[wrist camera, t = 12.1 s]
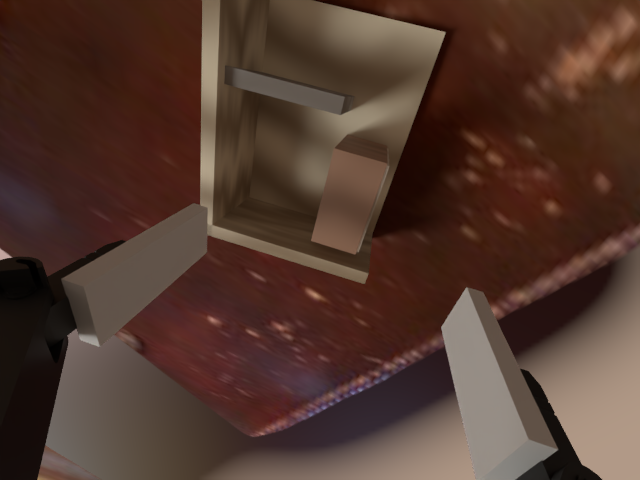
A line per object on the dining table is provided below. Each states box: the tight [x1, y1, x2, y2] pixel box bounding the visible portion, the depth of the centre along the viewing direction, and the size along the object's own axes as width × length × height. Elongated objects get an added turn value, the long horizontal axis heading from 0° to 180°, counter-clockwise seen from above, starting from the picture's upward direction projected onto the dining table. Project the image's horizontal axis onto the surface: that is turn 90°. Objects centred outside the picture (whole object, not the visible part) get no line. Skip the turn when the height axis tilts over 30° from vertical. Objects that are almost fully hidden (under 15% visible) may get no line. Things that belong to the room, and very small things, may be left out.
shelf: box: [200, 0, 446, 284], centre depth 25 cm, size 20×16×9 cm
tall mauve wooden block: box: [311, 135, 389, 254], centre depth 26 cm, size 8×4×8 cm, turn 167°
